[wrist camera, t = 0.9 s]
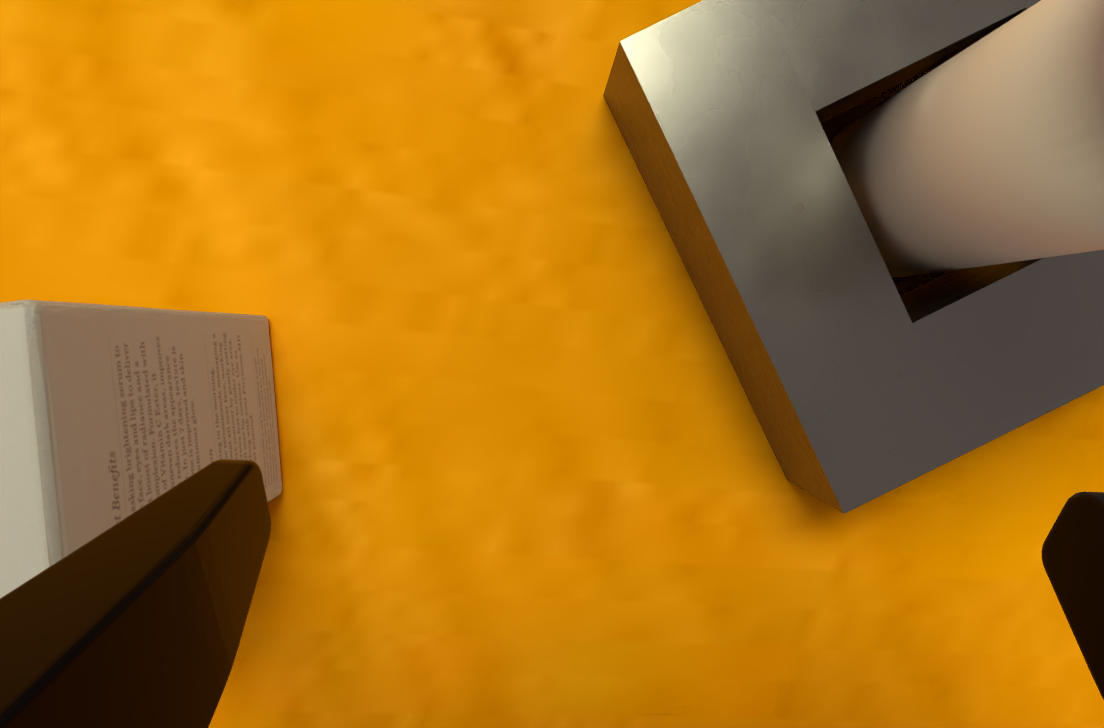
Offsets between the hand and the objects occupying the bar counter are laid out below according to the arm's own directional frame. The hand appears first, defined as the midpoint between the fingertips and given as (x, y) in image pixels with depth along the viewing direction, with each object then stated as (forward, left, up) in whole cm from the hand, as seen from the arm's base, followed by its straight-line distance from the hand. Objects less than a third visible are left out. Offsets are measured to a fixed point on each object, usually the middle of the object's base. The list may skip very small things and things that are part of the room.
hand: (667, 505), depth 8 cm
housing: (+1, -11, -14) cm, 18 cm away
